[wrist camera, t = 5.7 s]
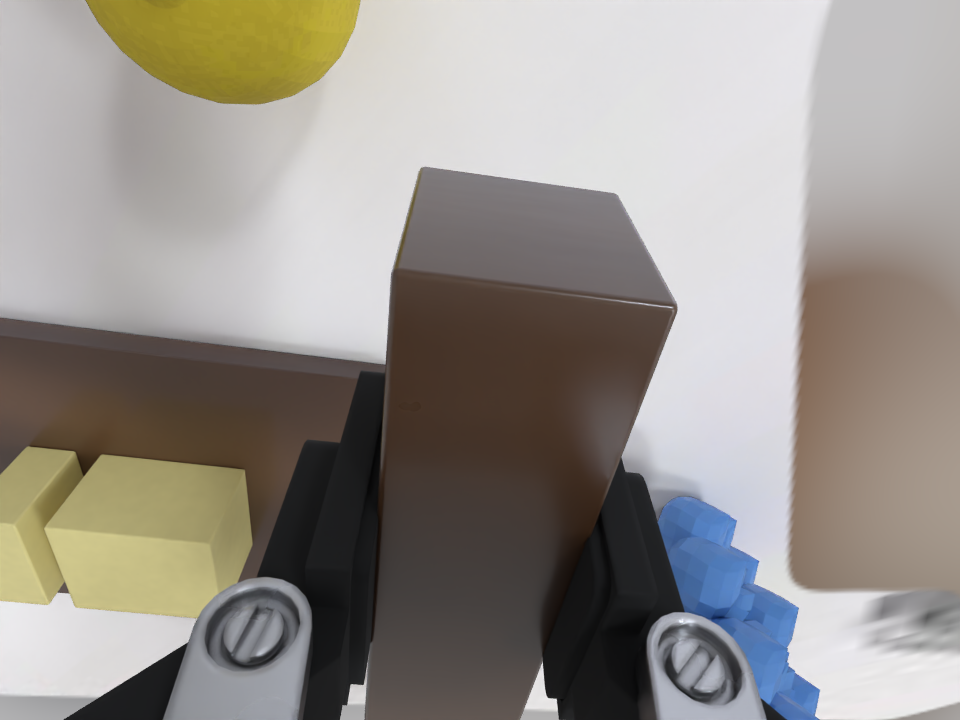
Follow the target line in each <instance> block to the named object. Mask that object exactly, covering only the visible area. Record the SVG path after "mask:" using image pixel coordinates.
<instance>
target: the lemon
mask: <svg viewBox="0 0 960 720" xmlns="http://www.w3.org/2000/svg"><path fill="white" fill-rule="evenodd" d="M86 2H87V4H88V6H89V7H90V9H91V11H92V13H93V14H94V16H95V18H96V20H97V21H98V23H99V24H100V25H101V27H102V28H103V29H104V30H105V31H106V33H107V34H108V35H109V36H110V37H111V39H112V40H113V41H114V42H115V44H116V45H117V46H118V47H119V48H120V50H121V51H122V52H124V53H125V54H126V55H127V56H128V57H130V58H131V59H132V60H133V61H134V62H136V63H137V64H138V65H139V66H140V67H142V68H143V69H144V70H145V71H146V72H148V73H149V74H150V75H152V76H154V77H155V78H157V79H159V80H161V81H163V82H165V83H166V84H168V85H170V86H172V87H174V88H176V89H177V90H179V91H181V92H184V93H187V94H190V95H194V96H197V97H200V98H204V99H207V100H211V101H214V102H218V103H225V104H263V103H267V102H271V101H275V100H279V99H283V98H286V97H290V96H293V95H295V94H297V93H298V92H300V91H302V90H303V89H305V88H307V87H308V86H310V85H312V84H313V83H315V82H316V81H318V80H319V79H321V78H322V77H323V76H324V74H325V73H326V72H327V71H328V70H329V69H330V68H331V67H332V66H333V64H334V63H335V62H336V61H337V60H338V59H339V58H340V57H341V55H342V53H343V51H344V49H345V47H346V45H347V43H348V40H349V38H350V36H351V34H352V32H353V30H354V28H355V24H356V19H357V15H358V10H359V5H360V0H86Z"/></svg>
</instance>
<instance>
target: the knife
mask: <svg viewBox="0 0 960 720" xmlns="http://www.w3.org/2000/svg"><path fill="white" fill-rule="evenodd" d="M676 313H677V303H676V301H675V300H674V298H673V296H672V294H671V292H670V290H669V289H668V287H667V285H666V283H665V281H664V279H663V278H662V276H661V274H660V272H659V270H658V268H657V267H656V265H655V263H654V261H653V259H652V257H651V256H650V254H649V252H648V250H647V248H646V246H645V245H644V243H643V241H642V239H641V237H640V235H639V234H638V232H637V230H636V228H635V226H634V224H633V223H632V221H631V219H630V217H629V215H628V213H627V212H626V210H625V208H624V206H623V204H622V202H621V201H620V199H619V197H618V195H616V194H614V193H608V192H601V191H594V190H586V189H579V188H572V187H565V186H558V185H551V184H544V183H537V182H529V181H522V180H515V179H508V178H501V177H494V176H487V175H480V174H472V173H465V172H458V171H451V170H444V169H437V168H430V167H423V168H421V169H420V171H419V173H418V176H417V180H416V184H415V187H414V191H413V195H412V199H411V202H410V206H409V210H408V213H407V217H406V221H405V224H404V228H403V232H402V236H401V239H400V243H399V247H398V250H397V254H396V258H395V262H394V265H393V269H392V273H391V285H390V301H389V318H388V335H387V352H386V369H385V385H384V402H383V419H382V436H381V453H380V469H379V486H378V503H377V516H378V531H377V547H376V563H375V579H374V595H373V611H372V627H371V643H370V649H369V655H368V671H367V687H366V704H365V720H520V718H521V716H522V713H523V711H524V708H525V705H526V703H527V700H528V698H529V695H530V692H531V690H532V687H533V685H534V682H535V679H536V677H537V674H538V672H539V669H540V666H541V664H542V661H543V657H542V656H543V654H544V651H545V649H546V646H547V643H548V641H549V638H550V635H551V633H552V630H553V628H554V625H555V622H556V620H557V617H558V615H559V612H560V609H561V607H562V604H563V601H564V599H565V596H566V594H567V591H568V588H569V586H570V583H571V581H572V578H573V575H574V573H575V570H576V567H577V565H578V562H579V560H580V557H581V554H582V552H583V549H584V547H585V544H586V541H587V539H588V538H589V537H591V534H592V531H593V529H594V526H595V524H596V521H597V518H598V516H599V513H600V511H601V508H602V505H603V503H604V500H605V498H606V495H607V492H608V490H609V487H610V485H611V482H612V479H613V477H614V474H615V472H616V469H617V467H618V464H619V461H620V459H621V456H622V454H623V451H624V448H625V446H626V443H627V441H628V438H629V435H630V433H631V430H632V428H633V425H634V422H635V420H636V417H637V415H638V412H639V409H640V407H641V404H642V402H643V399H644V396H645V394H646V391H647V389H648V386H649V383H650V381H651V378H652V376H653V373H654V370H655V368H656V365H657V363H658V360H659V357H660V355H661V352H662V350H663V347H664V344H665V342H666V339H667V337H668V334H669V332H670V329H671V326H672V324H673V321H674V319H675V316H676Z"/></svg>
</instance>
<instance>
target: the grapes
mask: <svg viewBox="0 0 960 720" xmlns="http://www.w3.org/2000/svg"><path fill="white" fill-rule="evenodd" d="M736 522H737V521H736V520H735V519H733V518H731V517H730V516H729V515H728V514H726V513H724V512H722V511H721V510H719V509H717V508H716V507H713V506H711V505H709V504H707V503H704V502H702V501H700V500H697V499H695V498H692V497H677V498H674V499H672V500H671V501H669V502H668V503H667V504H666V505H665V506H664V507H663V510H662V512H661V515H660V517H659V520H658V525H659V528H660V532H661V535H662V538H663V541H664V545H665V548H666V551H667V555H668V558H669V561H670V564H671V568H672V571H673V574H674V578H675V581H676V584H677V588H678V591H679V594H680V597H681V601H682V604H683V607H684V611H685V613H692V614H695V615H698V616H702V617H705V618H706V619H708V620H710V621H712V622H713V623H715V624H717V625H719V626H720V627H721V628H722V629H724V630H725V631H726V632H727V633H728V634H729V635H730V636H731V637H733V638H734V640H735V641H736V642H737V644H738V645H739V646H740V648H741V649H742V650H743V652H744V653H745V655H746V657H747V660H748V662H749V664H750V666H751V669H752V671H753V675H754V678H755V682H756V685H757V688H758V692H759V695H760V698H761V699H763V700H764V701H765V702H766V703H767V704H769V705H770V706H771V707H772V708H773V709H775V710H776V711H777V712H778V713H779V714H781V715H782V716H783V717H784V718H785V719H787V720H819V719H818V718H817V717H815V712H816V708H817V703H818V698H819V692H820V690H819V689H818V688H816V687H815V686H813V685H812V684H811V683H809V682H808V681H806V680H805V679H803V678H802V677H800V676H799V675H797V674H796V673H795V671H794V670H793V669H792V668H790V667H789V666H788V665H789V663H787V660H788V656H789V653H788V652H787V650H788V648H787V647H788V645H789V643H790V642H791V640H792V636H793V632H794V627H795V623H796V618H797V614H798V609H799V608H798V607H796V606H795V605H793V604H792V603H790V602H789V601H787V600H785V599H784V598H782V597H780V596H778V595H776V594H774V593H773V592H771V591H769V590H767V589H764V588H762V587H760V586H758V585H755V584H753V583H754V580H755V576H756V572H757V567H758V563H759V561H758V560H756V559H755V558H753V557H751V556H750V555H748V554H746V553H744V552H742V551H740V550H738V549H736V548H734V547H731V546H730V545H731V541H732V538H733V535H734V530H735V526H736Z"/></svg>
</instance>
